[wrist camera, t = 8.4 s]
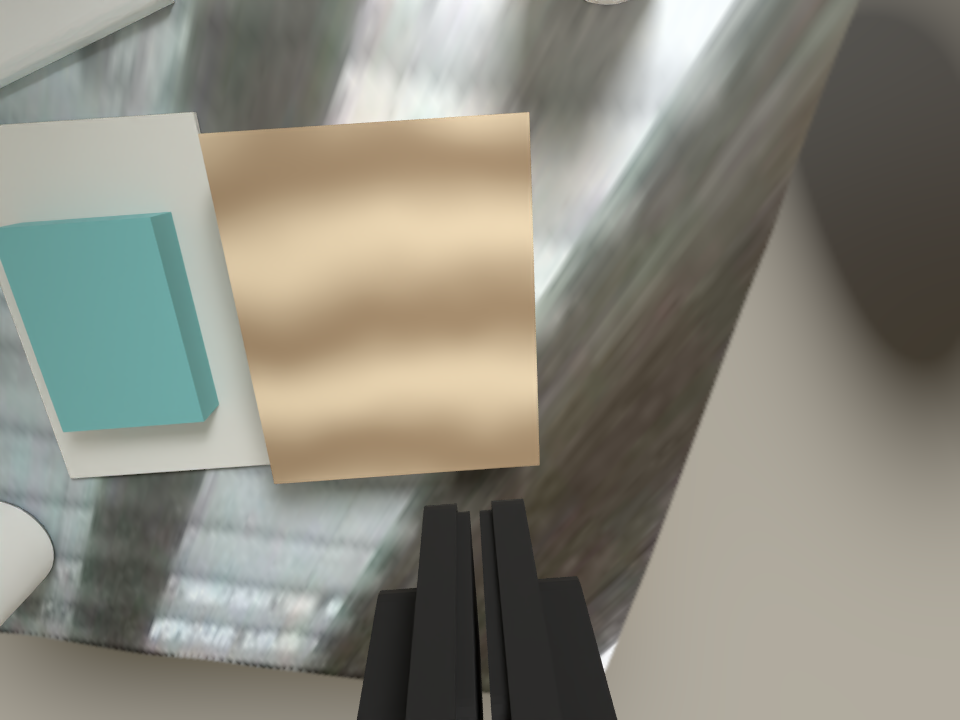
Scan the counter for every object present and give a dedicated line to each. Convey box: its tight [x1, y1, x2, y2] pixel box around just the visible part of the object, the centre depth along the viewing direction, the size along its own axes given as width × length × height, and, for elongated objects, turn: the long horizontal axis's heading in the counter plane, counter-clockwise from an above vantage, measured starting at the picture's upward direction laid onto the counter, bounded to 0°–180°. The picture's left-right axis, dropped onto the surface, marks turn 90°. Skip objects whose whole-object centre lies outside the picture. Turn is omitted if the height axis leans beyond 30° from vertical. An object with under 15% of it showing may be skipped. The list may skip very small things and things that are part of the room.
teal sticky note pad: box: [0, 212, 219, 432], centre depth 28 cm, size 10×7×2 cm
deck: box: [198, 112, 540, 484], centre depth 28 cm, size 16×13×4 cm
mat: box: [0, 112, 270, 479], centre depth 29 cm, size 18×11×1 cm, turn 4°
